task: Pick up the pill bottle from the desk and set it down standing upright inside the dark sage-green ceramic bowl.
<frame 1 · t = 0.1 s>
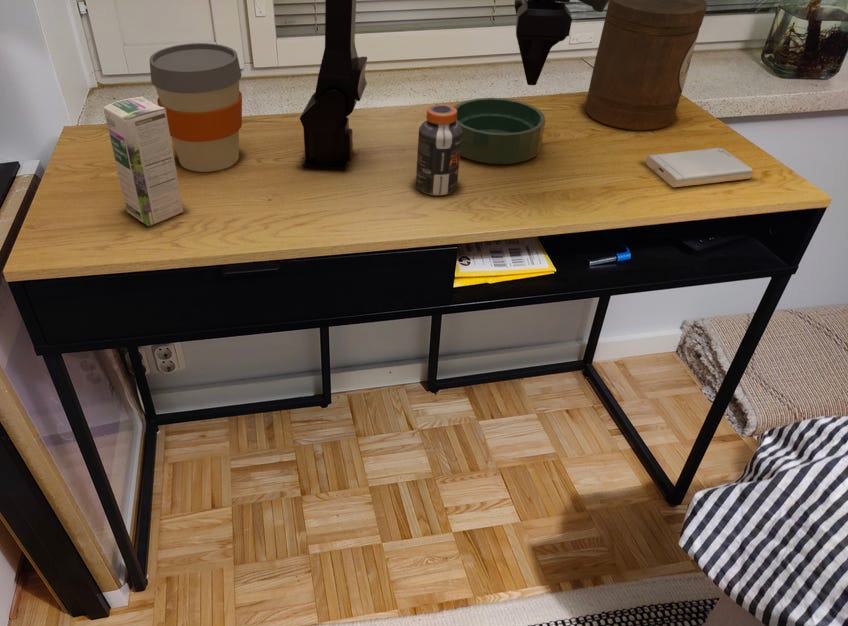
hand: (530, 72, 95), 15 cm above the table, tool pointing down, fingers open, 9 cm apart
pill bottle: (436, 188, 101), on the table
wooden container: (628, 114, 122), on the table
reusable coffee cup: (209, 159, 108), on the table
hard drive: (695, 172, 105), on the table
syrup box: (156, 213, 95), on the table
bowl: (493, 146, 111), on the table
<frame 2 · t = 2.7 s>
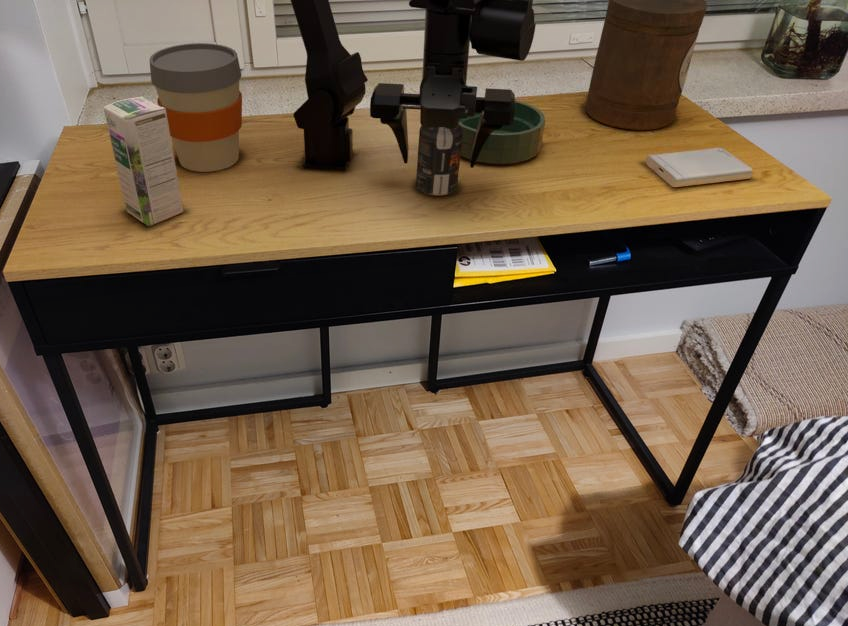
hand: (438, 164, 99), 3 cm above the table, tool pointing down
pill bottle: (436, 188, 101), on the table, touching gripper
everything else where it was.
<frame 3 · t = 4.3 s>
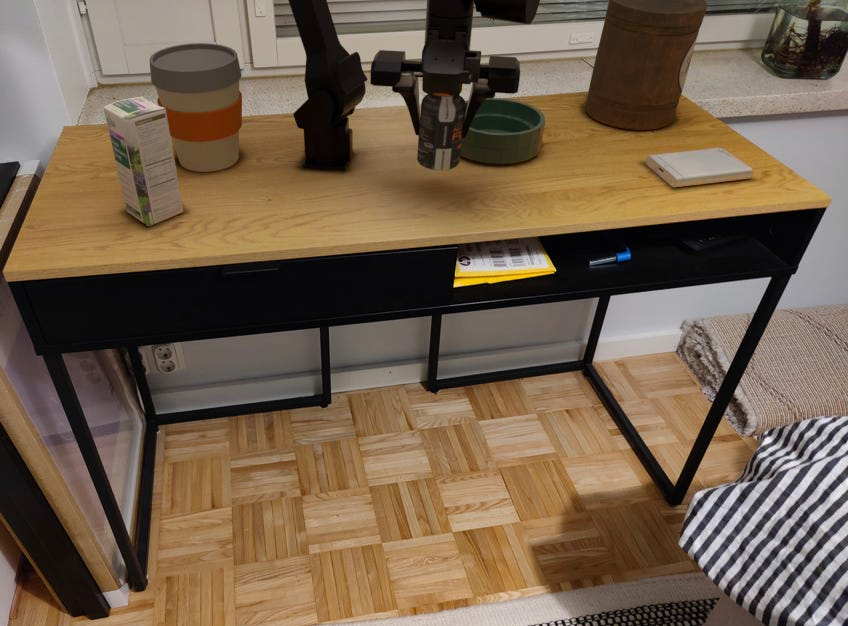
hand: (440, 135, 96), 8 cm above the table, tool pointing down, fingers closed on pill bottle, 6 cm apart
pill bottle: (437, 163, 99), point 4 cm above the table, touching gripper
everything else where it was.
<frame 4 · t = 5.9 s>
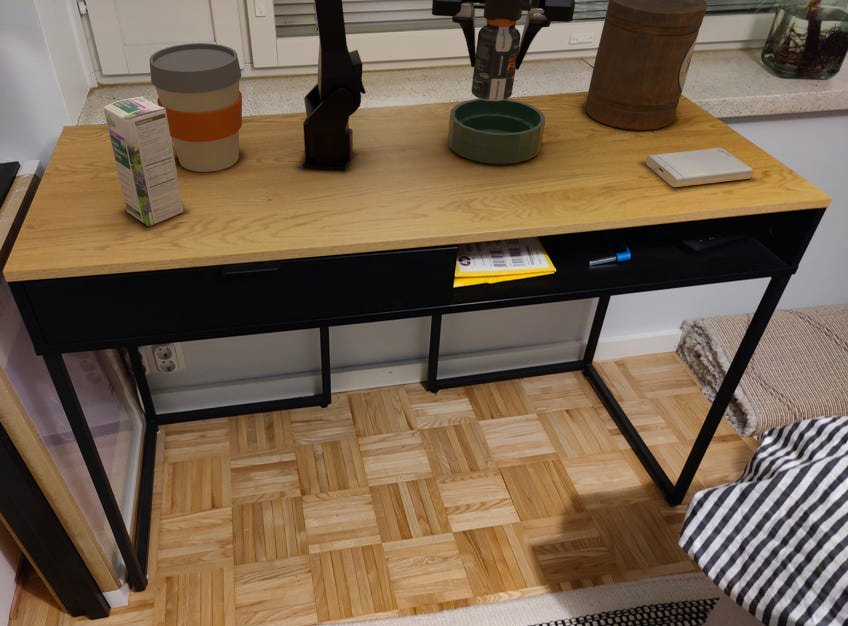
hand: (494, 67, 101), 13 cm above the table, tool pointing down, fingers closed on pill bottle, 6 cm apart
pill bottle: (491, 95, 104), point 9 cm above the table, touching gripper
everything else where it was.
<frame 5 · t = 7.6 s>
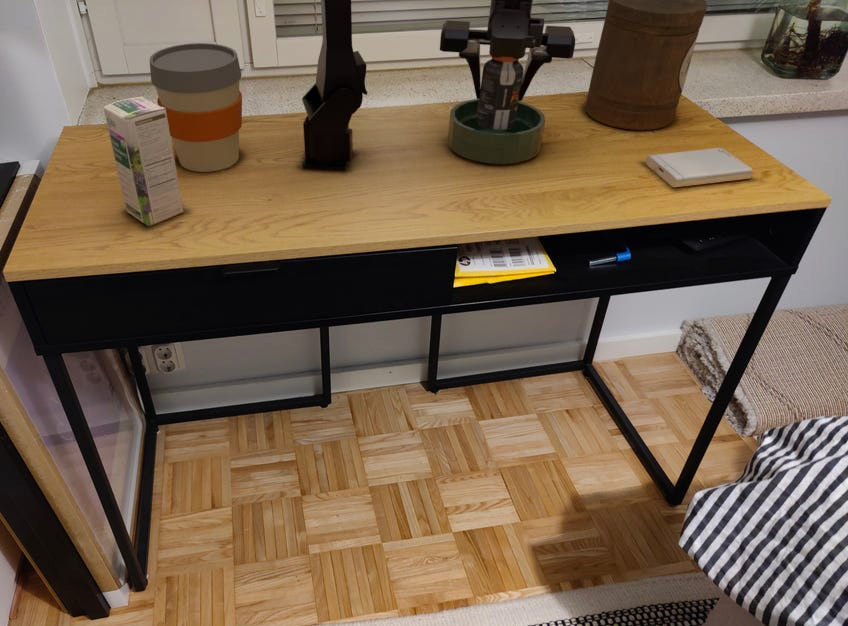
hand: (498, 99, 107), 8 cm above the table, tool pointing down, fingers closed on pill bottle, 6 cm apart
pill bottle: (494, 125, 109), point 3 cm above the table, touching gripper
everything else where it was.
when the fingers open (4 cm above the table, at t = 9.0 s): pill bottle stays where it is, resting on bowl.
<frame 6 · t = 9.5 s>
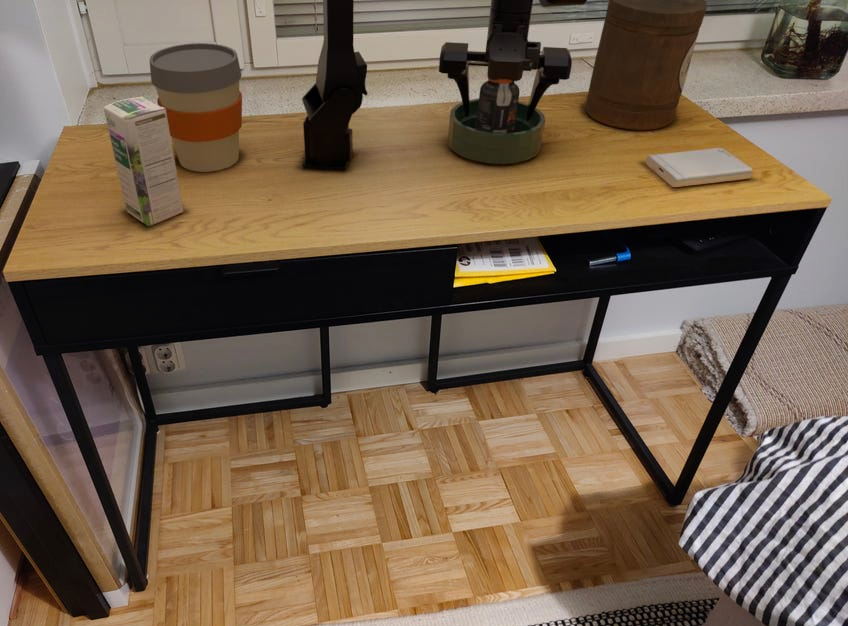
hand: (497, 118, 108), 5 cm above the table, tool pointing down, fingers open, 9 cm apart
pill bottle: (492, 144, 111), resting on bowl
everything else where it was.
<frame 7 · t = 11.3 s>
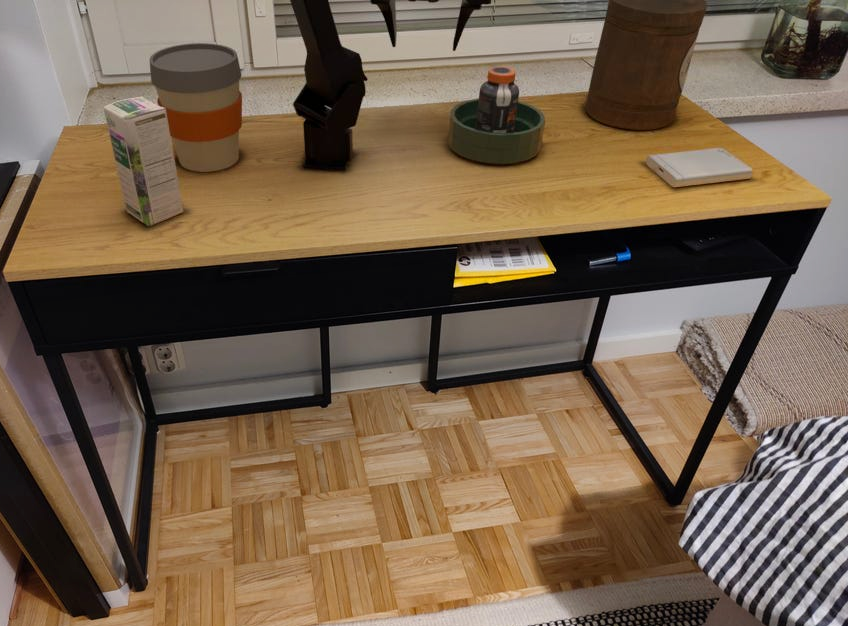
hand: (424, 48, 108), 13 cm above the table, tool pointing down, fingers open, 9 cm apart
nothing on the table moved.
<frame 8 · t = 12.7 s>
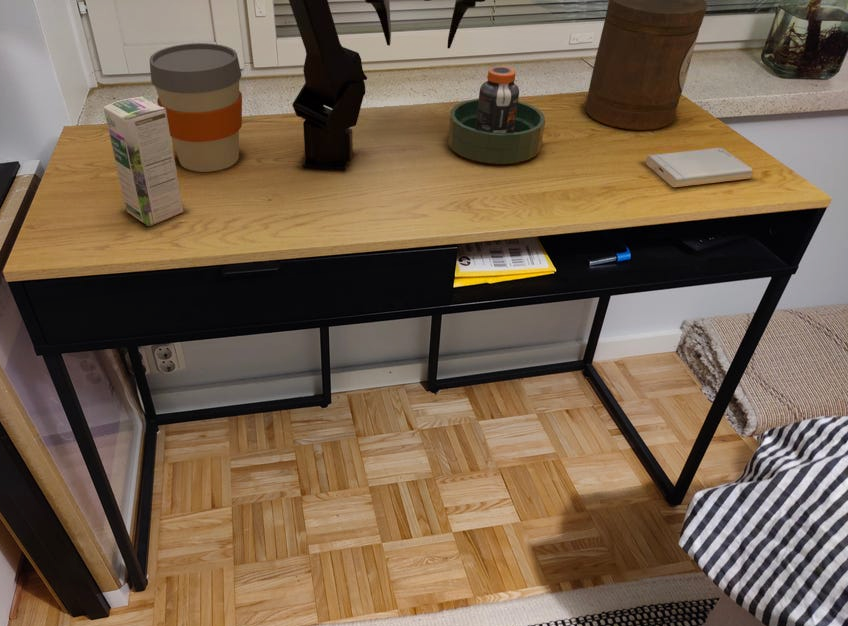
hand: (418, 46, 108), 13 cm above the table, tool pointing down, fingers open, 9 cm apart
nothing on the table moved.
at the end: pill bottle inside the target area in the bowl (0.2 cm from its centre), point 0.3 cm above the bowl's base; pill bottle tilted 0°; the gripper is holding nothing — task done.
